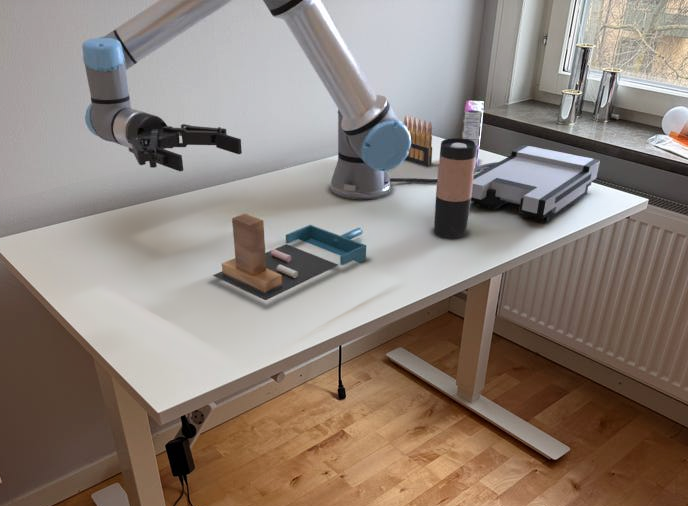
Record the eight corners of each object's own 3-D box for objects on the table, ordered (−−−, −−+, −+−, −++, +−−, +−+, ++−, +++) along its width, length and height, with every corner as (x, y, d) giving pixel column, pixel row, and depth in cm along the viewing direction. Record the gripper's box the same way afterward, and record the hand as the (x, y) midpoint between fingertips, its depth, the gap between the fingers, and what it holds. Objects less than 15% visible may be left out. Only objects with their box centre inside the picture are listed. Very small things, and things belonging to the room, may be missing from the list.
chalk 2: (281, 269, 138) (281, 263, 137) (298, 276, 136) (298, 270, 135) (276, 272, 137) (276, 265, 137) (293, 279, 135) (292, 272, 134)
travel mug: (425, 232, 157) (433, 143, 146) (445, 223, 162) (454, 135, 151) (454, 242, 153) (463, 150, 142) (473, 232, 158) (484, 142, 147)
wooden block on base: (239, 267, 139) (235, 207, 132) (282, 286, 132) (279, 224, 125) (222, 275, 136) (216, 214, 129) (265, 294, 129) (261, 231, 123)
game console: (459, 209, 169) (463, 176, 165) (518, 175, 191) (523, 144, 186) (540, 230, 159) (546, 195, 154) (593, 191, 180) (600, 160, 175)
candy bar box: (460, 159, 202) (466, 99, 193) (477, 160, 201) (484, 100, 192) (458, 171, 193) (464, 110, 184) (476, 172, 192) (483, 111, 183)
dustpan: (342, 271, 141) (342, 256, 139) (286, 249, 150) (285, 234, 148) (389, 248, 151) (390, 233, 149) (334, 228, 159) (334, 214, 158)
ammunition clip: (399, 157, 203) (401, 115, 196) (403, 156, 204) (405, 114, 197) (427, 166, 196) (430, 122, 190) (431, 165, 197) (435, 121, 191)
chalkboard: (286, 250, 149) (286, 243, 149) (338, 271, 141) (338, 264, 140) (213, 282, 137) (212, 275, 136) (265, 307, 129) (265, 300, 128)
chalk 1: (275, 255, 144) (275, 248, 144) (291, 261, 142) (291, 255, 141) (270, 256, 143) (270, 249, 143) (286, 262, 141) (286, 256, 140)
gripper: (194, 138, 148) (263, 159, 137) (89, 165, 133) (156, 192, 121) (190, 101, 144) (261, 120, 132) (82, 125, 129) (150, 148, 117)
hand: (211, 154), depth 127 cm, fingers open, 13 cm apart
